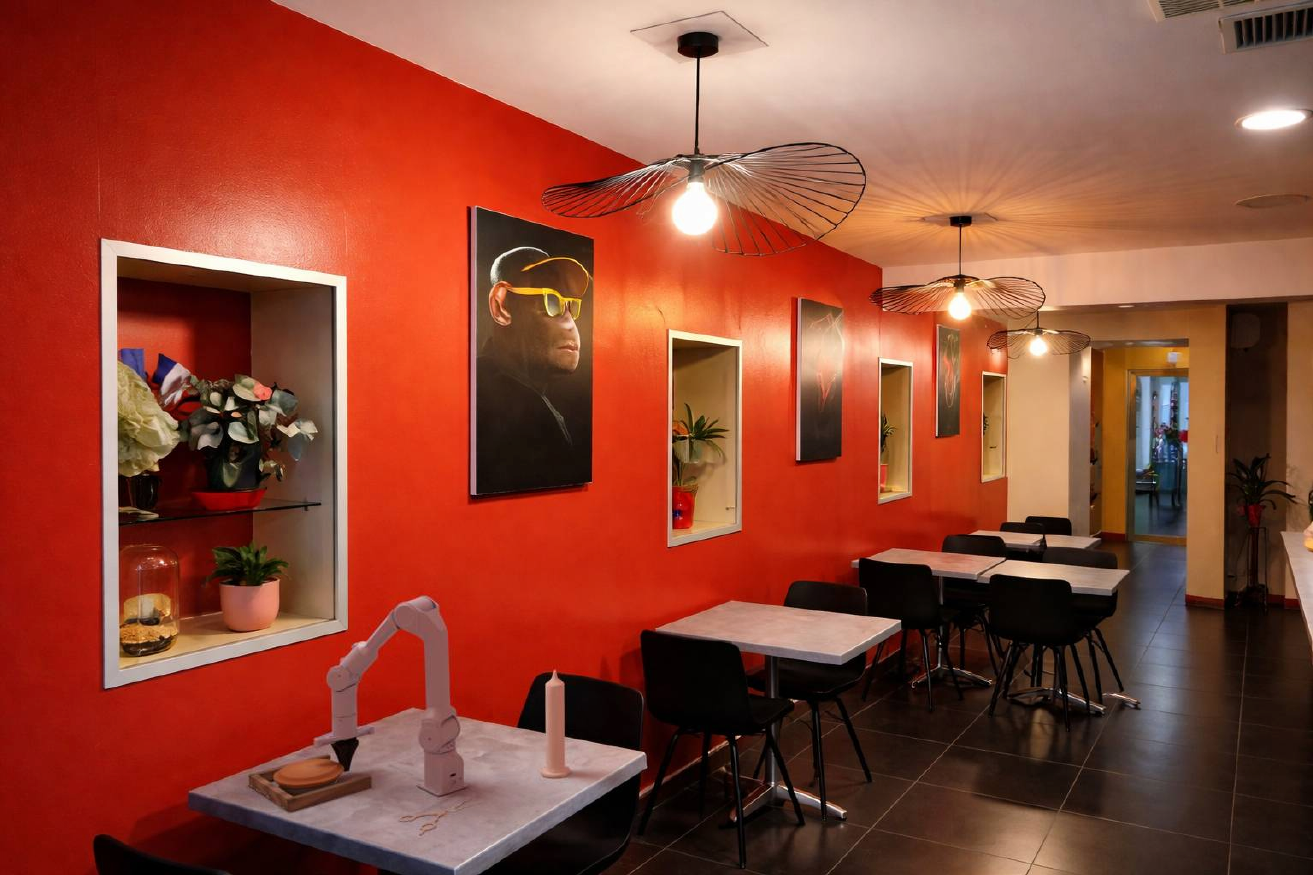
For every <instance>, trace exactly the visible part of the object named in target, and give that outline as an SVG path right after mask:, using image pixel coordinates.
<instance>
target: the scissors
mask: <svg viewBox="0 0 1313 875" xmlns="http://www.w3.org/2000/svg"><path fill="white" fill-rule="evenodd" d="M471 799H472V797H470V798H467V799H466V800H464V801H466V802H467V801H469V800H471ZM457 804H461V802H459V803H457ZM457 804H454V805H451V807H456V808H459V806H461V805H462V804H461V805H457ZM463 807H466V808H470V807H472V804H469V806H468V805H464V806H463ZM456 808H455V809H456ZM450 810H453V809H450V807H448V808H446V809H444V810H439V811H435V812H431V813H421V814H404V815H402V816H400V817H398V819H397V820H398V822H400V823H408V821H410V822H413V821H412V820H414V819H415V820H416V819H417V818H421V817H428V816H429V817H430V815H433V817H434V815H435V816H436V818H435V819H433V820H432V821H429V822H424V823H422V824H421V825H420V827H419V830H420V832H419V833H418V836H423V834H424V833H426V832H428V831H432V830H434V829H436V826H437V825H436V823H437V822H439V819H440V818H441V817H443V816H444V814H445V815H447V814H449V813H452V811H450ZM456 811H459V809H456ZM446 813H447V814H446ZM411 817H412V818H411ZM404 818H408V819H404ZM415 820H414V821H415ZM427 826H431V827H429V828H428V827H427ZM424 827H427V828H424Z"/></svg>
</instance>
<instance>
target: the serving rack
mask: <svg viewBox="0 0 1313 875" xmlns="http://www.w3.org/2000/svg"><path fill="white" fill-rule="evenodd" d="M309 759H328V760H331V755H330V754H329V753H326V754H322V755H319V756H314V757H310V758H306V759H305V760H309ZM289 764H290V763H287V764H284V765H280V766H277V767H273V768H269V769H265V770H261V771H258V772H253V773H250V774H248V786H249V785H251V786H252V787H253V788H252V787H251V786H250V787H251V788H252V789H254V788H255V789H257V790H258V791H260V792H261V793H263V794H264V795H266V796H268V797H269V798H270V799H269V798H268V799H269V800H271V801H272V800H273V801H272V802H274V801H275V802H276V803H275V802H274V803H275V804H277V803H278V804H279V807H281V808H283V807H284V808H285V809H284V808H283V809H284V810H286V811H288V812H294V811H297V810H299V809H303V808H307V807H309V806H313V805H316V804H317V805H318V804H320V803H324V802H327V801H330V800H333V799H337V798H340V797H344V796H347V795H349V794H350V795H351V794H353V793H356V792H360V791H363V790H366V789H370V788H372V775H370V774H367V775H363V776H359V777H357V778H353V779H348V780H346V781H342V782H339V783H335V785H331V786H328V787H324V788H321V789H318V790H314V791H311V792H307V793H304V794H300V795H297V796H291V795H290V794H288V793H286V792H285V791H283V790H282V789H281V788H280V787H278V786H276V785H275V784H273V783H272V782H275V781H274V778H273V776H274V774H275V773H276V772H277V771H279V770H280V769H282V768H284V767H285V766H287V765H289ZM270 781H271V782H270ZM255 789H254V790H255ZM257 790H256V791H257ZM258 791H257V792H258ZM260 792H259V793H260ZM261 793H260V794H261ZM263 794H262V795H263ZM264 795H263V796H264ZM266 796H265V797H266ZM278 804H277V805H278Z"/></svg>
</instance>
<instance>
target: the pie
mask: <svg viewBox="0 0 1313 875" xmlns="http://www.w3.org/2000/svg"><path fill="white" fill-rule="evenodd" d="M308 759H309V760H306V759H302V760H298V761H294V762H290V763H288V764H289V765H287V764H286V765H287V766H285V767H284V768H282V769H280V770H279V771H277V772H276V773H275V774H274V776H273V778H274V781H273V782H275V783H276V785H278V786H279V788H280V789H282V790H283V791H285V792H286V793H288V794H290V795H291V796H297V795H300V794H304V793H307V792H311V791H314V790H318V789H321V788H324V787H328V786H331V785H335V784H337V783H336V782H338V779H339V777H341V775H343V773H345V772H344V767H343V765H342V764H340V763H339V762H338V761H334V760H332V759H330V760H328V759H310V758H308Z"/></svg>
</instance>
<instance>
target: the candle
mask: <svg viewBox="0 0 1313 875" xmlns="http://www.w3.org/2000/svg"><path fill="white" fill-rule="evenodd" d="M552 673H553V674H552V677H551V679H550V680H548V681H547V682H546V683H545V766H544V767H542V768H541V770H540V774H541V776H542V777H544V778H548V779H561V778H564V777H567V776H569V775H570V773H571V768H570V767H569V766H567V765H566V758H565V757H566V750H565V748H566V743H565V742H566V741H565V740H566V738H565V737H566V735H565V733H566V732H565V727H566V726H565V725H566V724H565V722H566V720H565V713H566V712H565V709H566V708H565V682H564V681H562V680H561V679H560V678H559V677H558V674H557V670H556V669H554V670H553V672H552Z"/></svg>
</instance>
